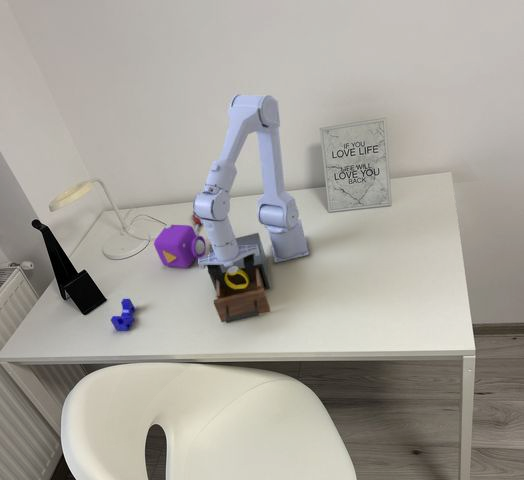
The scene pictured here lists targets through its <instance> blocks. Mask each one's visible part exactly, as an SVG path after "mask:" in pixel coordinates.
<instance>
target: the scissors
mask: <svg viewBox="0 0 524 480" xmlns="http://www.w3.org/2000/svg"><path fill="white" fill-rule="evenodd" d="M192 219H193V221H194V225H195V227H194V231H195V234H197V230H198V228H199V226H201V224H202V223H201V221H200V219H199V218H197V217H196V216H195V215H194V214H193V213H192Z"/></svg>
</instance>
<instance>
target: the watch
mask: <svg viewBox="0 0 524 480" xmlns="http://www.w3.org/2000/svg"><path fill="white" fill-rule="evenodd" d="M237 273H238V274H241V275H242V276H243V277H245V279H246V281H247V283H246V284H243V285H235V284H233V283H231V282H230V281H229V280H228V277H227V275H228V274H229V275H235V274H237ZM224 280H225V282H226V284H227V285H228V286H229V287H230V288H233V289H245V288H246V287H247V286H248V284H249V277H248V275H247V273H245V272H244V271H242V270H240V269H239V268H238V267H237V266H232V267H230V268H229V269H228V271H227V272H226V274H225V278H224Z"/></svg>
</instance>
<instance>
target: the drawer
mask: <svg viewBox="0 0 524 480" xmlns="http://www.w3.org/2000/svg"><path fill="white" fill-rule="evenodd" d="M243 271H244V272H245V273H247V271H246V270H243ZM247 275H248V273H247ZM227 277H228V280H229V281H230V282H231V283H233V284H235V285H243V284H246V283H247V281H246V279H245V277H243V276H242V275H241V274H238V273H237V274H235V275H229V274H228V275H227ZM224 278H225V275H224ZM252 278H253V282H250V281H249V284H248V286H247V287H246V288H245V289H233V288H230V287H229V286H228V285H227V284H226V286H227V288H223V286H222V285H221V284H220V282H219V281H218V280H217V279H216V290H215V293H216V292H217V293H216V298H215V299H213V305H214V308H215V310H216V313H217V315H218V317H219V319H220V322H221V323H226V324H230V323H234V322H238V321H243V320H247V319H252V318H256V317H260V315H262V314H265V313H269V312H271V307H270V305H269V300H268V298H267V295H266V290H265V289H264V281H263V277H262V274H261V270H260V267H256V268H253V269H252Z"/></svg>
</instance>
